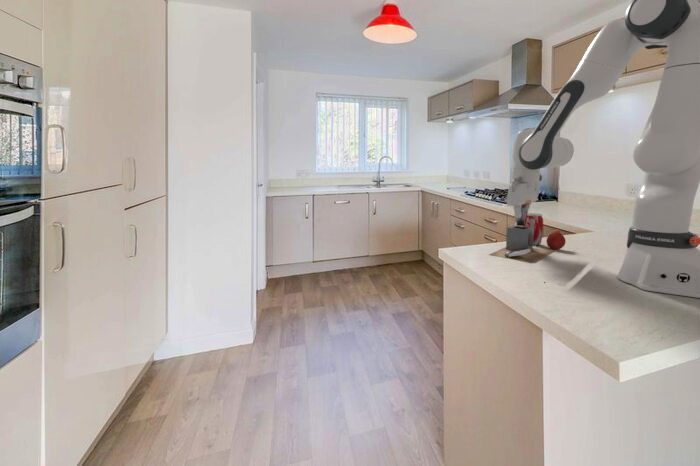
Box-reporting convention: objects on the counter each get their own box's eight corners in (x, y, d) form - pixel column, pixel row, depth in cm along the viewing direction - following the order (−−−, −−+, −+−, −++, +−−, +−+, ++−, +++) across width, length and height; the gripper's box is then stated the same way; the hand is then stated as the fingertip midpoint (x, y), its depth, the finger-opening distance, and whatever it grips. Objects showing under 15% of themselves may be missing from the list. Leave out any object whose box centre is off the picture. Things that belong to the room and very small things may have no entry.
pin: (531, 224, 123) (533, 199, 121) (525, 227, 119) (528, 201, 117) (514, 222, 127) (516, 198, 125) (508, 225, 123) (510, 199, 121)
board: (554, 253, 121) (554, 251, 121) (535, 266, 107) (535, 262, 107) (510, 247, 132) (510, 244, 131) (488, 257, 118) (488, 254, 118)
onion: (547, 252, 123) (550, 230, 122) (544, 249, 129) (546, 227, 127) (566, 253, 121) (568, 231, 120) (561, 249, 127) (563, 228, 125)
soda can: (544, 246, 133) (547, 215, 130) (526, 246, 133) (528, 215, 130) (535, 242, 140) (538, 213, 137) (517, 242, 140) (520, 213, 137)
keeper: (531, 251, 113) (530, 247, 113) (525, 253, 110) (524, 250, 110) (511, 254, 118) (510, 251, 118) (505, 257, 115) (504, 253, 115)
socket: (532, 249, 124) (534, 227, 122) (526, 252, 120) (528, 230, 118) (511, 246, 129) (513, 225, 127) (505, 249, 125) (507, 227, 123)
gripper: (523, 178, 110) (519, 221, 113) (543, 176, 124) (540, 214, 127) (503, 177, 114) (500, 219, 117) (525, 175, 128) (522, 212, 131)
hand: (521, 216), depth 122 cm, fingers closed on pin, 5 cm apart
